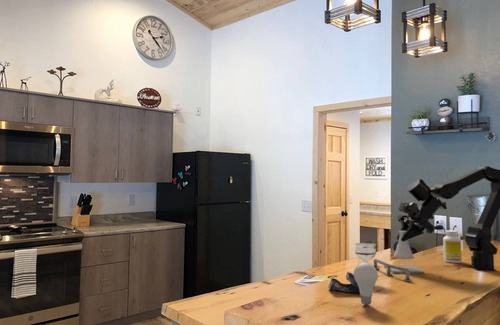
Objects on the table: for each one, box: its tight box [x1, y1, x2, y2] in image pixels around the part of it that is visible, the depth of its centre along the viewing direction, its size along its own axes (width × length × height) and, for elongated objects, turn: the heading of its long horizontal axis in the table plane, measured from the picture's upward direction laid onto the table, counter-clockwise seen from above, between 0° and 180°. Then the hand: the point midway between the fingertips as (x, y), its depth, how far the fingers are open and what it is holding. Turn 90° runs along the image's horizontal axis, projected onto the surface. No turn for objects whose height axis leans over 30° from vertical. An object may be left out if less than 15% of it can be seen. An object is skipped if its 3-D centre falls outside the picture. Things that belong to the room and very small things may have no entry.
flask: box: [393, 230, 415, 260], centre depth 146 cm, size 7×7×10 cm
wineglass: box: [354, 242, 377, 263], centre depth 129 cm, size 7×7×12 cm
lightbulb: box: [353, 261, 379, 307], centre depth 102 cm, size 6×6×11 cm
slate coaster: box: [383, 264, 426, 275], centre depth 146 cm, size 11×11×1 cm
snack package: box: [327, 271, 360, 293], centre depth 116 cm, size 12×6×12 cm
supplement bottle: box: [442, 229, 463, 264], centre depth 164 cm, size 7×7×13 cm
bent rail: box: [373, 258, 413, 283], centre depth 138 cm, size 4×22×4 cm, turn 14°
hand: (399, 239), depth 146 cm, fingers closed on flask, 3 cm apart
